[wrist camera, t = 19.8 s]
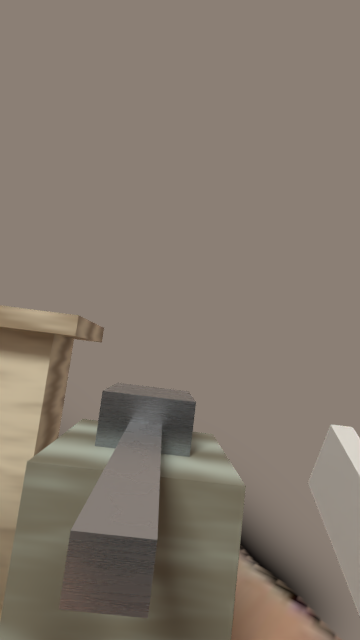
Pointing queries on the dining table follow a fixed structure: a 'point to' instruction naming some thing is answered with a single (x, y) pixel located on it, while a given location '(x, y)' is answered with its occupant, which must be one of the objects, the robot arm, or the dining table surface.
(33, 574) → the beige grey streaked blocks
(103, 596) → the grey t-shaped bar
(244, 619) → the dining table surface
